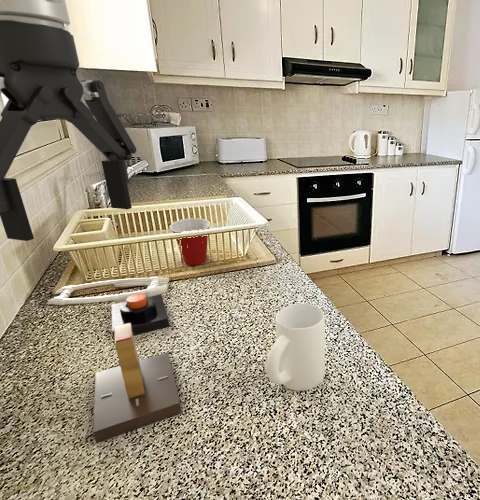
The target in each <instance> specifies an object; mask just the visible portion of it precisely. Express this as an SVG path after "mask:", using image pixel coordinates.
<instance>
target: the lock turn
mask: <svg viewBox="0 0 480 500" xmlns="http://www.w3.org/2000/svg"><path fill="white" fill-rule="evenodd" d="M114 334H115V340H114V347H115V350H116V354H117V359H118V362H119V366H120V367H121V371H122V375H123V379H124V383H125V387H126V391H127V395H128V399H130V398H133V397H137V396H140V395H143V394H145V392H144V384H143V376H142V371H141V367H140V362H139V360H140V358H139V354H138V350H137V345H136V339H135V336H134V335H133V331H132V326H131V323H128V324H123V325H119V326H115V327H114Z"/></svg>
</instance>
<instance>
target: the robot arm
mask: <svg viewBox="0 0 480 500" xmlns="http://www.w3.org/2000/svg"><path fill="white" fill-rule="evenodd" d="M70 24H71V20H70V16H69V12H68V8H67V2H66V0H0V95H1V94H3V95H4V96H5V98H7V102H6V103H5V106H3V109H2V110H1V112H0V117H1V119H0V221H1V222H2V226H3V229H4V232H5V235H6V238H7V239H8V240H14V241H15V240H16V241H22V242H23V241H24V242H29V241H33V240H34V239H35V236H34V234H33V231H32V228H31V224H30V221H29V217H28V214H27V211H26V208H25V204H24V200H23V198H22V195H21V192H20V189H19V185H18V182H17V179H16V178H15V177H12V178H11V177H6V176H7V174H8V172H9V170H10V168H11V166H12V164H13V163H14V160H15V159H16V157H17V155H18V154H19V153H18V152H19V151H20V150H21V148H22V146H23V143H24V141H25V140H26V138H27V136H28V134H29V132H30V130H31V128H32V127H33V126H34V125H36V124H37V123H38V122H39V121H57V120H58V121H66V122H68V123H71V124H72V125H73V126H74V127H75V128H76V129H77V130H78V131H79V133H81V134H82V135H83V137H85V138H86V139H87V140H88V141H89V142H90V143H91V144H92V145H93V147H95V148H96V149H97V150H98V151H99V152H100V153H101V154H102V155H103V156H104V157H105V158H106V160H101V166H102V170H103V175H104V180H105V184H106V189H107V194H108V198H109V203H110V207H111V209H119V210H130V209H132V208H133V207H132V202H131V197H130V193H129V192H130V191H129V187H128V184H129V182H130V178H129V173H128V167H127V163H126V161H132V159H133V155H134V154H136V153H137V147H136V145H135V144H134V142H133V140H132V138H131V137H130V135H129V133H128V131H127V130H126V128H125V126H124V124H123V123H122V121H121V119H120V118H119V116H118V114H117V113H116V111H115V109H114V108H113V106H112V104H111V102H110V100H109V98H108V95H107V91H106V89H105V85H104V83H103V81H101V80H99V79H82V80H80V79H79V77H78V75H77V70H78V69H79V67H80V60H79V56H78V52H77V51H78V50H77V46H76V42H75V38H74V35H73V34H72V33H71V32H70V31H69V30H66V29H65V28H68V27H69V26H70ZM82 98H83V100H84V101H85V103H84V102H83V100H82Z"/></svg>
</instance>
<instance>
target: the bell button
mask: <svg viewBox="0 0 480 500" xmlns="http://www.w3.org/2000/svg"><path fill="white" fill-rule="evenodd" d="M126 300H127V305H128V308H129V309H136V308H141V307H143V306H145V305H147V299H146V295H144V294H135V295H132V296H130V297H128V298H127V299H126Z"/></svg>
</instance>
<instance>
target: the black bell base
mask: <svg viewBox="0 0 480 500" xmlns="http://www.w3.org/2000/svg"><path fill="white" fill-rule="evenodd" d="M146 299H147V305H145V306H143V307H141V308H136V309H129V308H128V305H127V301H124V302H117V303H112V304H111V305H110V307H111V309H110V310H111V333H112V338H113V341H115V334H114V327H115V326H119V325H123V324H128V323H131V326H132V331H133V335H134V337H135V336H138V335H141V334H147V333H150V332H155V331H159V330H162V329H166V328H170V327H171V326H170V320H169V315H168V313H167V309H166V304H165V302H164V298H163V293H162V294H158V295H155V296H150V297H147V296H146Z"/></svg>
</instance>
